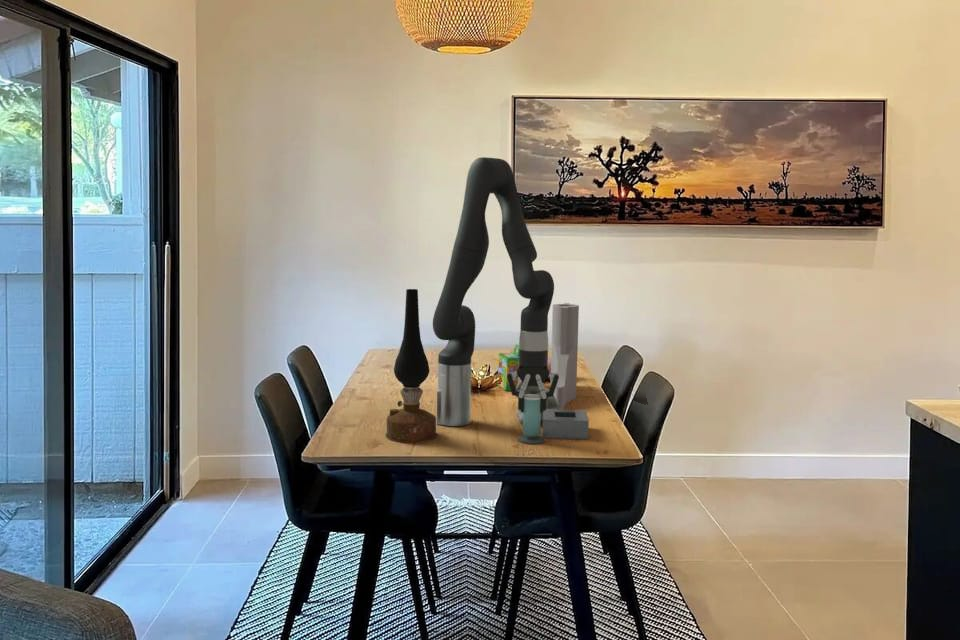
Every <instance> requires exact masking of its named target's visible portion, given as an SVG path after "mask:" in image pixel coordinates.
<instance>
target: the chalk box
mask: <svg viewBox="0 0 960 640" xmlns="http://www.w3.org/2000/svg"><path fill="white" fill-rule="evenodd" d="M497 363H498V365H497V366H498V367H497V375H498V374H499V375H500V376H501V378H502V382H501V384H498V383H497V386H498V388H501V389H502V390H504V391H505V392H511V389H510V386H509V382H508V378H507V373H508V372H511V373H512V372H516V371H517V369H518V367H519V344H515V345H514V349H513V352H499V353H498V362H497ZM518 378H519V377H518V375H517V376H516V379H515V380H514V384H515V388H516V390H517V384H518ZM517 391H518V390H517Z"/></svg>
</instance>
